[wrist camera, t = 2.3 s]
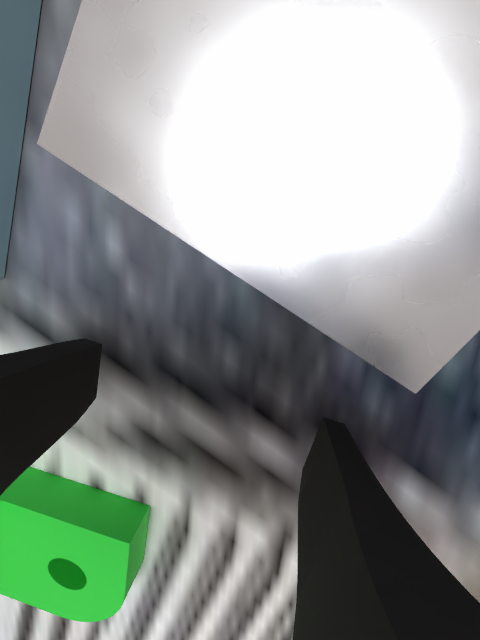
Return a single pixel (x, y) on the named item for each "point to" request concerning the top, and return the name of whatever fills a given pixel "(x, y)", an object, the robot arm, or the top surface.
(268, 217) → the block
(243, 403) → the top surface
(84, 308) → the top surface
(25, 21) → the bar
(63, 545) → the mechanical part
